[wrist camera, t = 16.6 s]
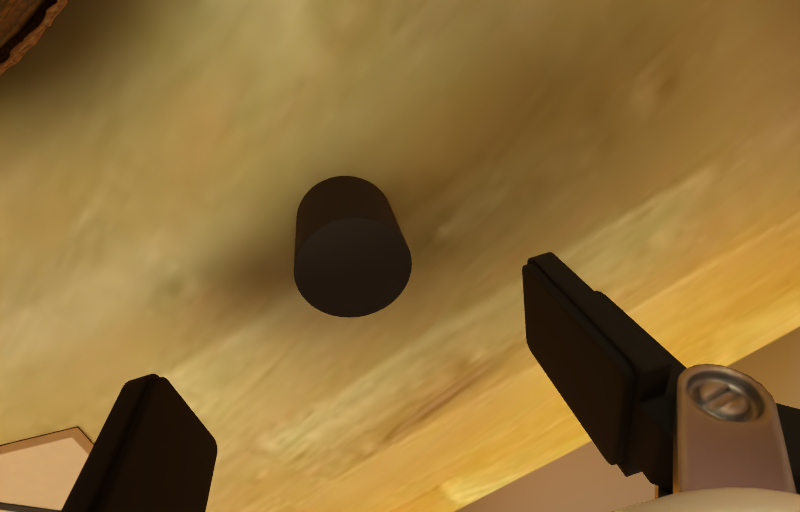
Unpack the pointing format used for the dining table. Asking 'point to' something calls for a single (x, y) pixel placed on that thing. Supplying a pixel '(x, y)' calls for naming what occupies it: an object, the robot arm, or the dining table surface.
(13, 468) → the drawing pad
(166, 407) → the robot arm
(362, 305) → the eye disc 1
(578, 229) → the dining table surface
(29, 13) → the basket
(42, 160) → the dining table surface
